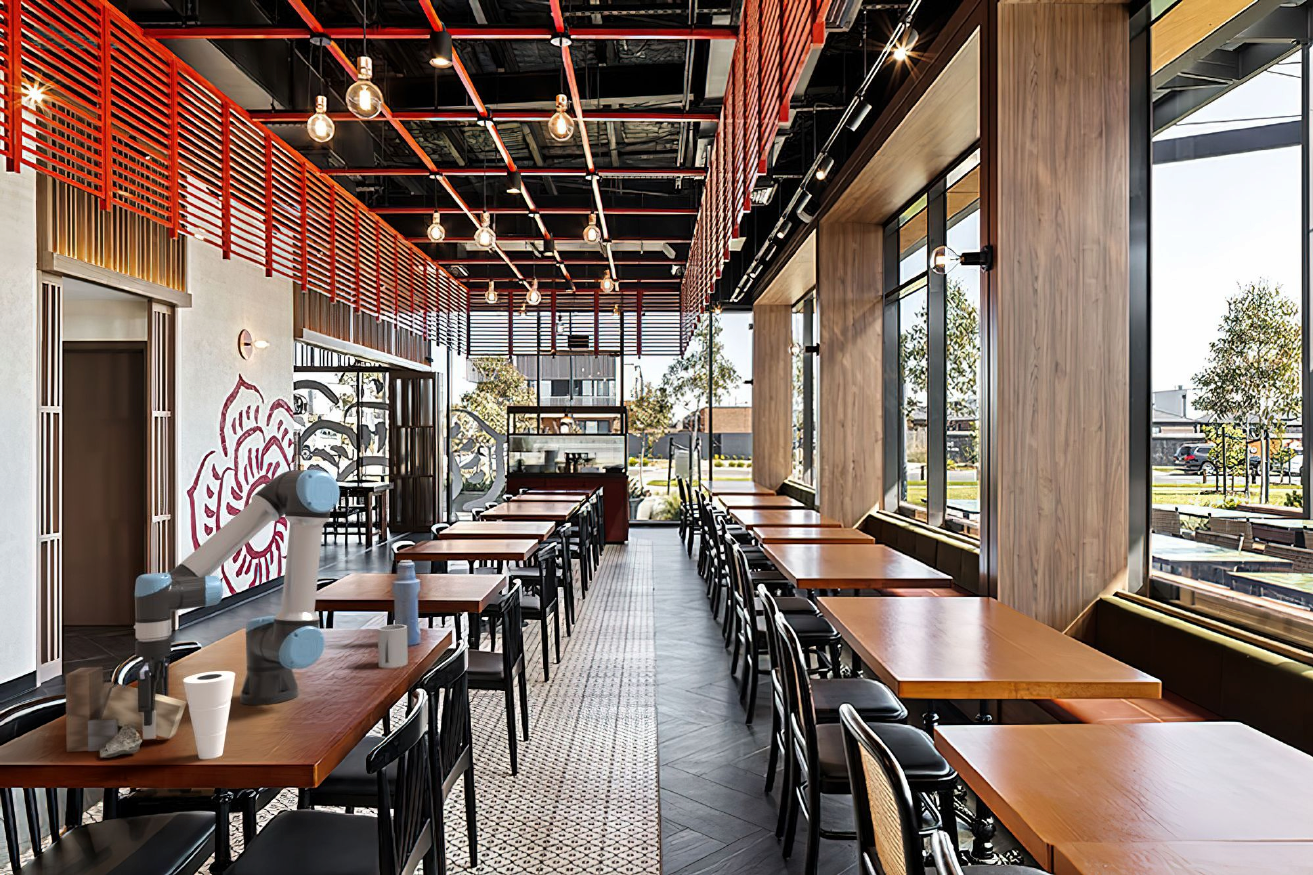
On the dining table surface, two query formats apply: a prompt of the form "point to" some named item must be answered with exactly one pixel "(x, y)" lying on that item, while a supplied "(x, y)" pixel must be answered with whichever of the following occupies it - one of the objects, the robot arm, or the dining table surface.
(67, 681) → the post
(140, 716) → the rail
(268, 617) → the robot arm
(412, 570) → the bottle
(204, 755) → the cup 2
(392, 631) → the cup
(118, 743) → the rock sample
